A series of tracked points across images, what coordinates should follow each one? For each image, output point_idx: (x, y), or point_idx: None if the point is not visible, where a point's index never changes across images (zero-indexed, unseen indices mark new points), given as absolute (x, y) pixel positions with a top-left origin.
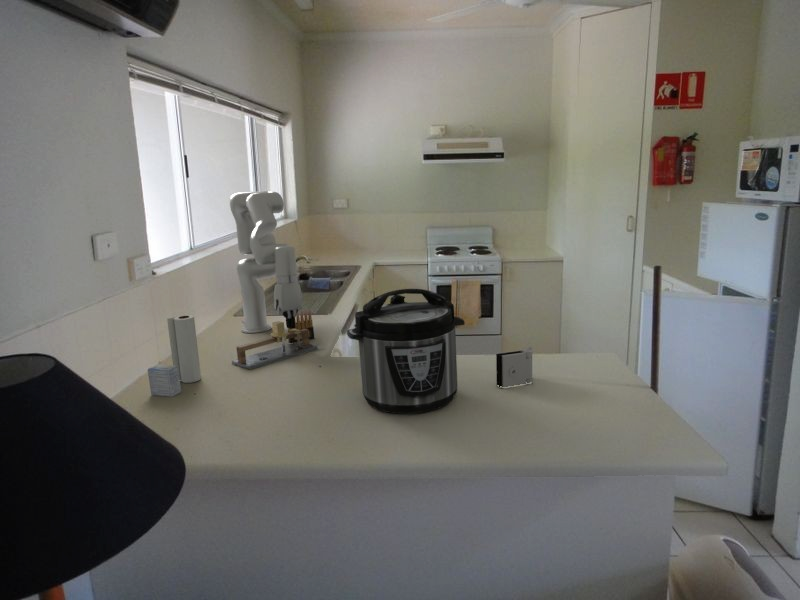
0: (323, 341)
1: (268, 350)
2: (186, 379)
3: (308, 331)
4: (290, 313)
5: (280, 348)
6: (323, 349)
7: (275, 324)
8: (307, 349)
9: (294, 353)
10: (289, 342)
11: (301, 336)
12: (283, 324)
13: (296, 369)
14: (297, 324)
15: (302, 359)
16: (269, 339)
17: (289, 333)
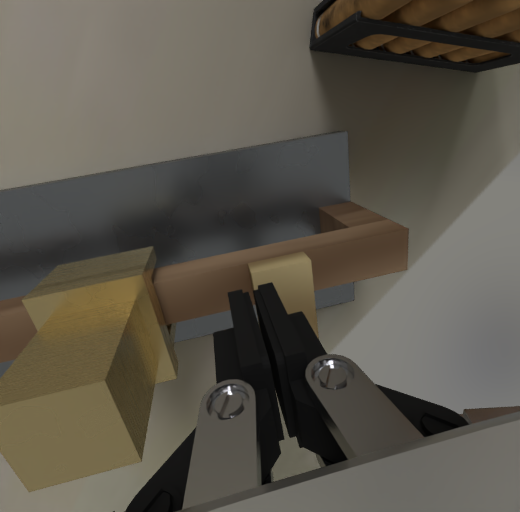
0: (458, 180)
1: (75, 182)
2: None
3: (495, 51)
4: (332, 415)
5: (168, 197)
6: (358, 315)
7: (19, 457)
8: None
9: (197, 335)
10: (314, 27)
11: (340, 224)
12: (139, 437)
13: (121, 484)
14: (482, 2)
15: (202, 392)
16: (2, 358)
17: (231, 290)
